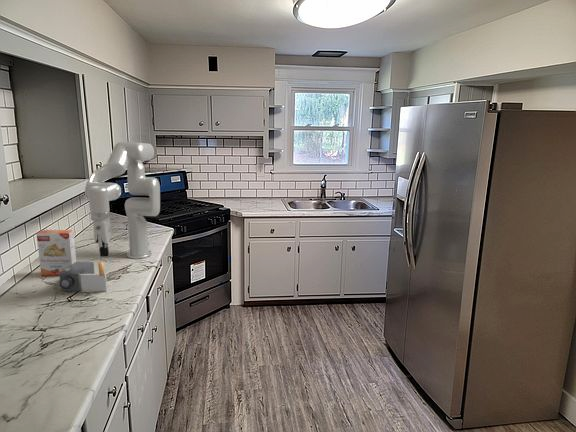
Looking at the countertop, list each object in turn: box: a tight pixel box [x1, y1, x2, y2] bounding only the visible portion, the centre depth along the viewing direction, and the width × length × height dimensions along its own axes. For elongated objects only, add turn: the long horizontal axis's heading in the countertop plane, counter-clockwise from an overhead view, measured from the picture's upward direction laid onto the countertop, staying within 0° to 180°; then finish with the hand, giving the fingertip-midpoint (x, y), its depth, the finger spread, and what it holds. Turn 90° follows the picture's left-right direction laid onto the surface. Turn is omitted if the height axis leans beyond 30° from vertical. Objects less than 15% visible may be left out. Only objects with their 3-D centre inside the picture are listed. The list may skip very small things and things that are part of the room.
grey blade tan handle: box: [78, 261, 108, 293], centre depth 170 cm, size 11×2×13 cm, turn 96°
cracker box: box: [36, 229, 77, 277], centre depth 188 cm, size 14×6×21 cm, turn 98°
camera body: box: [58, 261, 95, 292], centre depth 177 cm, size 17×8×9 cm, turn 1°
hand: (104, 255), depth 176 cm, fingers closed
